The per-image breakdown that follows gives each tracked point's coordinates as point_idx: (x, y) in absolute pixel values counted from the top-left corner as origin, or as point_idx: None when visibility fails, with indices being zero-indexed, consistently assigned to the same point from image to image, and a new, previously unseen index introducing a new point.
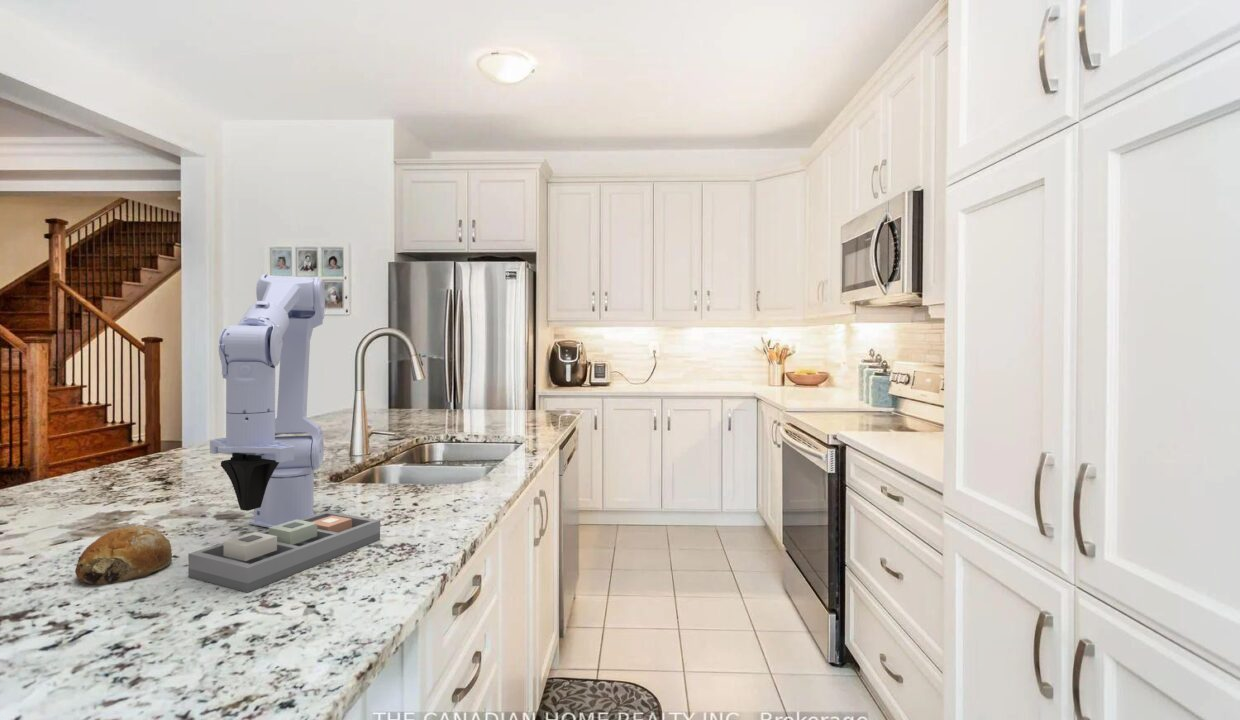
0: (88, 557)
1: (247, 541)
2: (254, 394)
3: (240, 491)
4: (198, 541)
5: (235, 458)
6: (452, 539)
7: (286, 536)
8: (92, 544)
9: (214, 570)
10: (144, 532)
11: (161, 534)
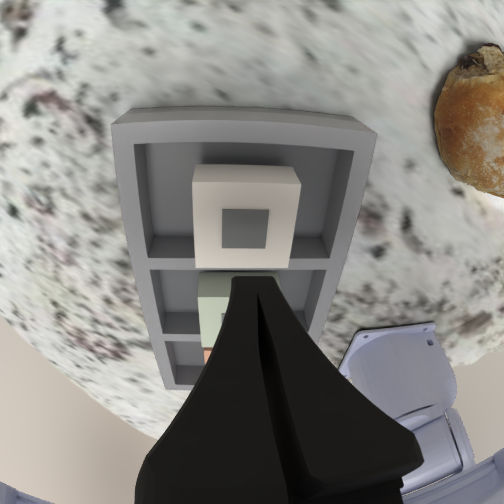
0: None
1: (227, 210)
2: None
3: (256, 334)
4: (465, 252)
5: (362, 497)
6: (85, 378)
7: (212, 287)
8: None
9: (257, 114)
10: None
11: (493, 182)
